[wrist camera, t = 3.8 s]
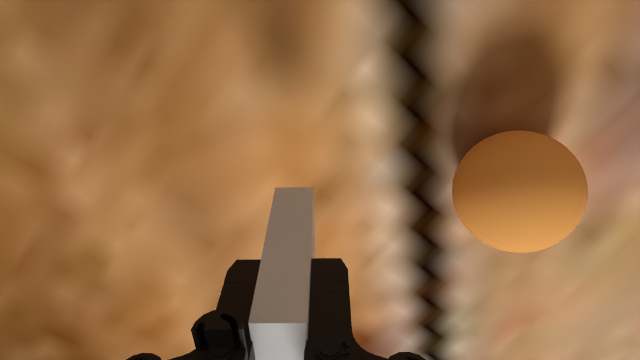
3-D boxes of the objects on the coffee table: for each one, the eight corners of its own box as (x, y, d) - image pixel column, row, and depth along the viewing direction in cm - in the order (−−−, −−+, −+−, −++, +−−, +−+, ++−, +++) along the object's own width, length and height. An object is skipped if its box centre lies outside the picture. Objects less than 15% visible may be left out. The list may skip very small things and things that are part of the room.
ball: (433, 208, 22) (463, 279, 18) (447, 113, 20) (487, 167, 15) (534, 207, 22) (592, 278, 18) (562, 111, 20) (639, 165, 15)
